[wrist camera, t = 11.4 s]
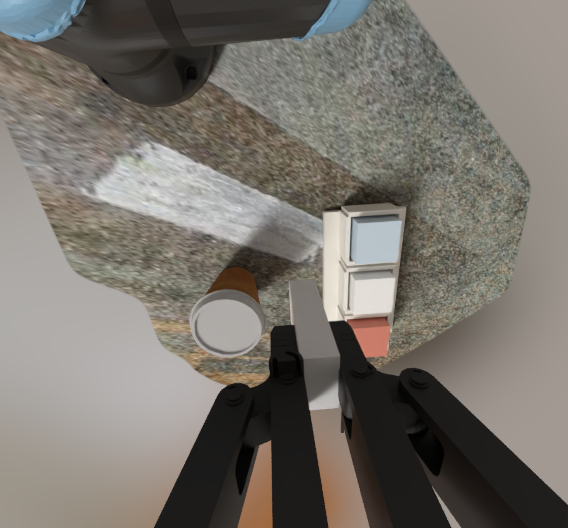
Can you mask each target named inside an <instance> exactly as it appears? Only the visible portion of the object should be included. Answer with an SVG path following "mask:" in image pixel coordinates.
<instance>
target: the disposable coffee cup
mask: <svg viewBox="0 0 568 528" xmlns="http://www.w3.org/2000/svg"><path fill="white" fill-rule="evenodd" d="M265 326H266V320H265V315H264V312H263V310H262V308H261V307H260V302H259V297H258V291H257V286H256V281H255V278H254V276H253V275H252V274H251V273H250V272H249V271H248V270H246V269H244V268H241V267H231V268H227V269H225V270H224V271H222V272H221V273H220V275H219V276H218V278H217V279H216V280H215V282H214V283H213V285H212V286H211V288H210V289H209V290H208V292H207V293H206V295H205V296H203V297H202V298H201V299H200V300H199V301H198V302H197V303H196V304H195V305H194V307H193V309H192V311H191V314H190V327H191V331H192V335H193V337H194V339H195V341H196V343H197V344H198V345H199V346H200V347H201V348H202V349H204V350H205V351H207V352H209V353H211V354H213V355H216V356H220V357H234V356H239V355H242V354H245V353H247V352H248V351H250V350H251V349H253V347H254V346H255V345H256V344H257V343H258V342H259V340H260V339H261V338H262V336H263V334H264V331H265Z"/></svg>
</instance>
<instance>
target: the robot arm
mask: <svg viewBox="0 0 568 528" xmlns="http://www.w3.org/2000/svg"><path fill="white" fill-rule="evenodd" d="M371 2H372V0H0V31H1V32H4V33H6V34H8V35H9V36H11V37H16V38H18V39H20V40H27V41H30V42H32V43H35V44H37V45H40V46H42V47H44V48H47V49H49V50H52V51H54V52H57V53H59V54H62V55H64V56H67V57H69V58H72V59H74V60H76V61H79V62H81V63H84V64H86V65H87V66H88V67H89V68H90V69H91V71H92V72H93V73H94V74H95V75H96V76H97V77H98V78H99V79H100V80H101V81H102V82H103V83H104V84H105V85H106V86H107V87H109V88H110V89H111V90H113V91H114V92H116V93H117V94H119V95H121V96H122V97H124V98H126V99H128V100H131V101H134V102H137V103H140V104H143V105H147V106H153V107H167V106H173V105H176V104H179V103H181V102H184V101H185V100H187V99H189V98H190V97H191V96H193V95H194V94H195V93H196V92H197V91H198V90H199V89H200V88H201V87H202V85H203V84H204V82H205V81H206V79H207V77H208V75H209V73H210V70H211V68H212V64H213V61H214V56H215V48H216V45H218V44H229V43H240V42H251V41H262V40H272V39H283V38H292V39H293V40H296V41H302V40H305V39H307V38H310V37H311V36H313V35H320V34H327V33H334V32H339V31H342V30H344V29H345V28H347V27H349V26H351V25H352V24H353V23H354V22H356V21H357V20H358V19H359V18H360V17H361V16H362V15H363V13H364V12H365V11H366V9H367V8H368V6H369V5H370V3H371ZM289 293H290V311H291V324H292V325H285V326H274V328H273V330H272V331H271V357H270V359H269V370H270V376H269V377H268V379H267V380H266V381H265V382H263V383H262V384H260V385H258V386H255V387H252V388H250V387H248V386H247V385H245V384H242V383H234V384H231V385H228V386H226V387H225V388H224V389H222V390H221V391H220V393H219V394H218V396H217V398H216V400H215V402H214V404H213V406H212V408H211V410H210V412H209V415H208V416H207V419H206V420H205V423H204V425H203V427H202V429H201V431H200V433H199V435H198V437H197V439H196V441H195V443H194V446H193V448H192V450H191V452H190V454H189V456H188V458H187V460H186V462H185V464H184V466H183V468H182V470H181V472H180V475H179V477H178V479H177V481H176V483H175V485H174V487H173V489H172V491H171V493H170V496H169V498H168V500H167V502H166V504H165V506H164V508H163V510H162V512H161V514H160V516H159V518H158V521H157V522H156V525H155V527H154V528H237V526H238V523H239V519H240V515H241V512H242V508H243V504H244V501H245V496H246V493H247V489H248V486H249V482H250V478H251V474H252V471H253V467H254V463H255V460H256V456H257V452H258V448H259V445H261V444H263V443H266V442H268V441H270V440H271V450H272V451H271V452H272V514H273V515H272V516H273V528H328V522H327V516H326V509H325V503H324V497H323V491H322V484H321V478H320V472H319V466H318V460H317V453H316V447H315V440H314V434H313V428H312V422H311V416H310V410H317V409H329V408H338V407H339V402H340V405H341V409H342V412H341V433H344V431H345V435H346V438H347V442H348V446H349V450H350V454H351V457H352V461H353V465H354V469H355V473H356V477H357V480H358V484H359V488H360V492H361V496H362V499H363V503H364V507H365V511H366V515H367V518H368V522H369V526H370V528H451V526H450V524H449V522H448V520H447V517H446V515H445V513H444V511H443V509H442V507H441V505H440V503H439V501H438V499H437V496H436V494H435V492H434V490H433V488H434V489H435V491H436V492H437V494H438V495H439V496H440V498H441V499H442V501H443V502H444V503H445V505H446V506H447V508H448V509H449V511H450V512H451V514H452V515H453V516H454V518H455V519H456V521H457V522H458V523H459V525H460V526H461V528H568V505H567V504H566V503H565V502H564V501H563V500H562V499H561V498H560V497H559V496H558V495H557V494H556V493H555V492H554V491H553V490H552V489H551V488H550V487H548V485H546V484H545V483H544V482H543V481H542V480H541V479H540V478H539V477H538V476H537V475H536V474H535V473H534V472H533V471H532V470H531V469H530V468H529V467H528V466H527V465H526V464H525V463H523V462H522V461H521V460H520V459H519V458H518V457H517V456H516V455H515V454H514V453H513V452H512V451H511V450H510V449H509V448H508V447H507V446H506V445H505V444H504V443H503V442H502V441H500V440H499V439H498V438H497V437H496V436H495V435H494V434H493V433H492V432H491V431H490V430H489V429H488V428H487V427H486V426H485V425H484V424H483V423H482V422H481V421H480V420H479V419H477V418H476V417H475V416H474V415H473V414H472V413H471V412H470V411H469V410H468V409H467V408H466V407H465V406H464V405H463V404H462V403H461V402H459V400H458V399H457V398H455V397H454V396H453V395H452V394H451V393H450V392H449V391H448V390H447V389H446V388H445V387H444V386H443V385H442V384H441V383H440V382H439V381H437V379H435V377H434V376H432V375H431V374H429V373H428V372H426V371H424V370H421V369H417V368H407V369H405V370H403V371H402V372H401V374H400V376H395V375H389V374H384V373H381V372H379V371H377V370H376V368H375V367H374V366H373V365H372V364H371V363H369V362H367V360H366V358H365V355H364V353H363V351H362V349H361V346H360V344H359V342H358V340H357V338H356V335H355V334H354V331H353V329H352V327H351V325H349V324H348V323H347V322H346V321H345V320H341V321H328V319H327V316H326V313H325V310H324V307H323V304H322V301H321V298H320V295H319V292H318V289H317V286H316V283H315V280H314V279H309V280H295V281H289ZM431 485H432V486H431ZM432 487H433V488H432Z"/></svg>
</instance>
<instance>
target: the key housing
mask: <svg viewBox="0 0 568 528" xmlns="http://www.w3.org/2000/svg"><path fill="white" fill-rule="evenodd" d="M387 214H392V215H394V216H395V217H397V218H399V219H400V220H402V225H401V234H400V243H399V252H398V261H396V262H382V263H368V264H355V262H354V261H353V260H352V258H351V257H350V255H349V253H350V228H351V217H357V216H372V215H387ZM405 215H406V207H405V206H395V205H393V204H391V203H381V204H365V205H350V206H342V207H341V210H333V211H323V307H324V310H325V313H326V316H327V319H328V321H341V320H345V321H346V322H347V319H359V318H372V317H384V318H385V319H386V321H387V322H388V324H389V325H390V331H389V337H390V332H392V326H393V317H394V309H395V300H396V292H397V283H398V275H399V266H400V258H401V249H402V241H403V232H404V224H405ZM386 269H388V270H389V271H390V272H391V273H392V274H393V275H394V276H395V277H396V278H395V287H394V296H393V305H392V312H388V313H375V314H361V315H353V313H352V311H351V309H350V307H349V305H348V303H347V302H348V277H349V272H358V271H372V270H386ZM388 346H389V340H388Z"/></svg>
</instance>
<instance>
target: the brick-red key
mask: <svg viewBox="0 0 568 528" xmlns="http://www.w3.org/2000/svg"><path fill="white" fill-rule="evenodd" d="M347 323H348V324H349V325H351V327H352V329H353V331H354V334H355V335H356V338H357V340H358V342H359V344H360V346H361V349H362V351H363V353H364V355H365V357H377V356H387V349H388V340H389V331H390V325H389V324H388V322H387V321H386V319H385V318H384V317H372V318H359V319H347Z"/></svg>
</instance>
